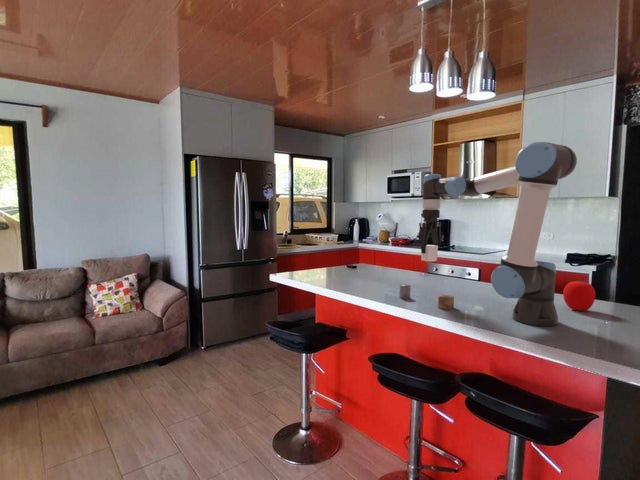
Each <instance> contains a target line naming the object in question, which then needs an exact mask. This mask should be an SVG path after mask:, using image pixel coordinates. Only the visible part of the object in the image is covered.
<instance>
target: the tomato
mask: <svg viewBox="0 0 640 480" xmlns="http://www.w3.org/2000/svg"><path fill="white" fill-rule="evenodd" d="M562 291H563V292H562V293H563V295H562V297H563V300H564V303H565V304H566V306H567V307H568V308H570V309H571V310H573V311H577V312H586V311H588V310H589V309H591V308H592V306H593V304H594V302H595V300H596V297H597V296H596V295H597V294H596V291H595V288H594V287H593V285H591V283H590V282H586V281H583V280H575V281H571V282H570V281H569V282H568V283H567V284H566V285H565V287H564V288H563V290H562Z"/></svg>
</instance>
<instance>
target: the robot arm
mask: <svg viewBox="0 0 640 480" xmlns="http://www.w3.org/2000/svg"><path fill="white" fill-rule="evenodd" d="M577 164H578V159H577V155H576V153H575V152H574V150H573V149H571V148H570V147H568V146H567V145H563V144H557V143H552V142H547V141H534V142H531V143H529V144H526V145H525V146H524V147H522V148H521V149H520V151H519V152H518V153H517V154H516V157H515V161H514V165H513V166H509V167H506V168H503V169H499V170H496V171H492V172H489V173H484V174H482V175H478V176H475V177H472V178H470V177H469V178H463V177H461V176H452V177H442V175H441V174H439V173H432V174H431V173H427V174H425V175H424V176H423V182H422V212H421V213H422V215H421V217H422V218H423V222H418V226H419V230H418V241H417V244H418V246H419V247H421V249H420V251H421V255H420V256H421V257H420V258H421V259H420V260H421V261H423V262H428V261H427V256H428V246H427V245H428V241H429V237H430V234H431V240H432V245H437V246H438V247H439V246H441V244H442V225H443V224H442V221H440V222H439V221H438V219H439V218H440V217H441V216H440V214H441V213H440V211H441V210H440V208H441V196H454V197H455V196H457V197H460V196H461V197H471V198H472V197H479V196H480V195H482V194H485V193H489V192H493V191H497V190H501V189H506V188H510V187H515V186H520V187H521V189H520V193H519V198H518V202H517V207H516V211H515V216H514V221H513V226H512V229H511V236H510V240H509V244H508V249H507V253H506V254H505V255H503V256H501V259H500V263H499V265H498V266H497V267H495V268H494V270H493V271H492V273H491V275H490V283H491V286H492V287H493V288H494V291H495V292H496V293H497V294H498V295H499V296H501V297H503V298H505V299H517V301H516V303H515V305H514V308H513V310H512V317H511V318H512V319H513V320H514V321H517V322H519V323H521V324H526V325H530V326H539V327H555V326H557V325H559V316H558V312H557V309H556V305H555V303H554V302H555V289H556V277H557V276H556V274H557V269H556V268H557V266H556V264H555V263H554V262H548V261H541V260H536V259H535V256H536V252H537V248H538V243H539V241H540V236H541V231H542V227H543V223H544V219H545V215H546V210H547V206H548V203H549V199H550V194H551V191H552V189H554V188H556V187H557V186H558V182H559V180H562V179H564V178H566V177H568V176H570V175H571V174H572V173H573V172H574V170H575V169H576V166H577ZM438 251H439V249H438V250H437V254H438ZM437 260H438V258H437V259H436V261H437Z"/></svg>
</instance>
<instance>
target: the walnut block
mask: <svg viewBox="0 0 640 480" xmlns="http://www.w3.org/2000/svg"><path fill="white" fill-rule="evenodd" d="M437 303H438V304H437V308H438V309H442V310H448V311H451V310H452V309H454V307H455V296H454V295H449V294H448V295H447V294H441V295H439V296H438V301H437Z"/></svg>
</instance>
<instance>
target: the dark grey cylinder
mask: <svg viewBox="0 0 640 480" xmlns="http://www.w3.org/2000/svg"><path fill="white" fill-rule="evenodd" d="M398 296H399V299H402V300H410V299H411V285H410V284H406V283H405V284H404V283H403V284H399V295H398Z"/></svg>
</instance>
